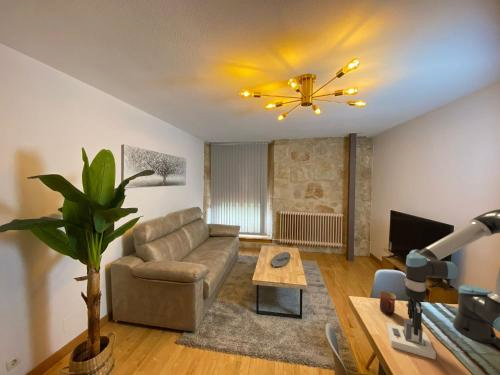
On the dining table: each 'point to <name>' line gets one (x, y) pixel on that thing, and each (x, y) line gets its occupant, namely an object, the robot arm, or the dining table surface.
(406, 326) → the plug
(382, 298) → the mug
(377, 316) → the dining table surface
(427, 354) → the socket plate
